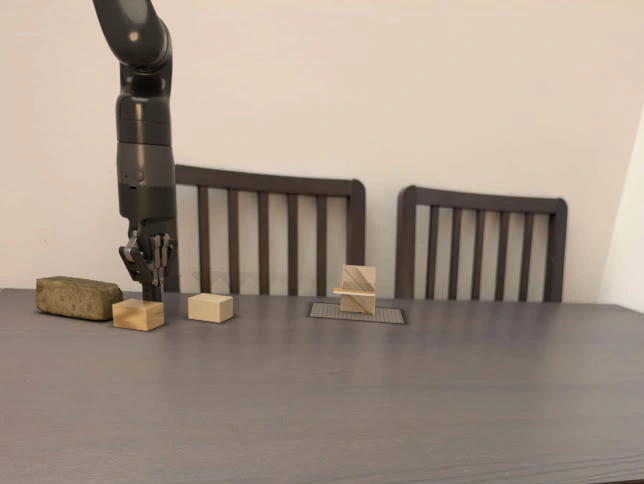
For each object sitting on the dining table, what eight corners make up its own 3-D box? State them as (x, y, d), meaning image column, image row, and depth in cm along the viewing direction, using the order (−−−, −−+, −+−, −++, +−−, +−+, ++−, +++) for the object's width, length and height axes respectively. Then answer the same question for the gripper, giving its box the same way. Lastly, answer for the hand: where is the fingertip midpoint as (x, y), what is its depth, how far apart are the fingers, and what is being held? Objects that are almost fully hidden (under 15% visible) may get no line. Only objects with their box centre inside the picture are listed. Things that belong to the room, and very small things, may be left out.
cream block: (188, 318, 108) (187, 298, 106) (202, 312, 112) (202, 292, 111) (219, 322, 107) (219, 302, 106) (233, 316, 111) (233, 296, 110)
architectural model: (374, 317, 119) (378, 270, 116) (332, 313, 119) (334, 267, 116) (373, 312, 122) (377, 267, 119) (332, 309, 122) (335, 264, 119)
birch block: (113, 326, 100) (112, 304, 99) (132, 319, 104) (131, 298, 103) (146, 331, 99) (146, 309, 98) (164, 324, 103) (163, 302, 102)
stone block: (104, 324, 101) (101, 287, 98) (32, 313, 103) (28, 277, 101) (127, 316, 106) (125, 281, 104) (58, 307, 108) (55, 272, 106)
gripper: (145, 177, 104) (151, 299, 111) (94, 179, 92) (104, 316, 100) (194, 182, 103) (196, 305, 110) (148, 184, 91) (154, 322, 98)
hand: (152, 310), depth 105 cm, fingers closed
